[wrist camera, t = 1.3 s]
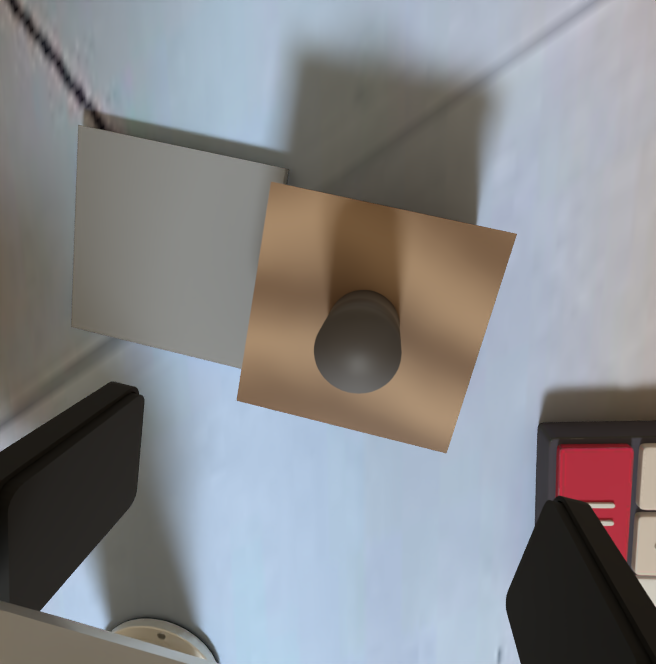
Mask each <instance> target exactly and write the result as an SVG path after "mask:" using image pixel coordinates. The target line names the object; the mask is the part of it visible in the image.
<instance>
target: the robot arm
mask: <svg viewBox="0 0 656 664" xmlns="http://www.w3.org/2000/svg"><path fill="white" fill-rule="evenodd" d="M143 412H144V397H143V396H142V395H139V391H138V389H137V388H136V387H133V386H129V385H125V384H121V383H117V382H110V383H108V384H106V385H105V386H103V387H102V388H100V389H98V390H97V391H95V392H94V393H92V394H91V395H89V396H87V397H86V398H84V399H83V400H81V401H80V402H78V403H76V404H75V405H73V406H72V407H70V408H69V409H67V410H65V411H64V412H62V413H61V414H59V415H58V416H56V417H54V418H53V419H51V420H50V421H48V422H47V423H45V424H43V425H42V426H40V427H39V428H37V429H36V430H34V431H32V432H31V433H29V434H28V435H26V436H25V437H23V438H21V439H20V440H18V441H17V442H15V443H14V444H12V445H10V446H9V447H7V448H6V449H4V450H2V451H1V452H0V664H219V663H217V662H216V661H215V659H214V657H213V655H212V653H211V652H210V651H209V649H208V648H207V647H206V646H205V644H204V643H203V642H201V641H200V640H199V639H198V638H197V637H196V636H195V635H193V634H192V633H190V632H189V631H187V630H186V629H184V628H182V627H180V626H178V625H176V624H173V623H170V622H167V621H163V620H157V619H135V620H130V621H127V622H124V623H122V624H120V625H119V626H117V627H116V628H114V629H113V630H112V631H111V632H110V631H106V630H103V629H99V628H96V627H93V626H89V625H86V624H82V623H79V622H76V621H72V620H69V619H65V618H62V617H58V616H55V615H51V614H47V613H44V612H40V610H41V609H42V608H43V607H44V606H45V605H46V603H47V602H48V601H49V600H50V599H51V598H52V596H53V595H54V594H55V593H56V592H57V591H58V590H59V588H60V587H61V586H62V585H63V584H64V583H65V581H66V580H67V579H68V578H69V577H70V576H71V574H72V573H73V572H74V571H75V570H76V569H77V568H78V566H79V565H80V564H81V563H82V562H83V561H84V559H85V558H86V557H87V556H88V555H89V554H90V553H91V551H92V550H93V549H94V548H95V547H96V546H97V544H98V543H99V542H100V541H101V540H102V539H103V537H104V536H105V535H106V534H107V533H108V532H109V531H110V529H111V528H112V527H113V526H114V525H115V524H116V522H117V521H118V520H119V519H120V518H121V517H122V515H123V514H124V513H125V512H126V511H127V510H128V509H129V507H130V506H131V504H132V503H133V501H134V498H135V496H136V492H137V482H138V470H139V459H140V447H141V436H142V424H143ZM506 611H507V615H508V619H509V622H510V626H511V629H512V633H513V637H514V640H515V644H516V648H517V651H518V655H519V659H520V662H521V664H656V607H655V605H654V603H653V602H652V600H651V599H650V597H649V596H648V594H647V593H646V591H645V590H644V588H643V586H642V585H641V583H640V582H639V580H638V579H637V577H636V576H635V574H634V573H633V571H632V569H631V568H630V566H629V565H628V563H627V562H626V560H625V559H624V557H623V556H622V554H621V552H620V551H619V549H618V548H617V546H616V545H615V543H614V542H613V540H612V538H611V537H610V535H609V534H608V532H607V531H606V529H605V528H604V526H603V525H602V523H601V521H600V520H599V518H598V517H597V515H596V514H595V512H594V511H593V509H592V508H591V506H590V505H589V504H588V503H586V502H583V501H579V500H575V499H571V498H568V497H564V496H557V497H556V498H555V499H554V500H553V501H552V500H547V501H546V502H545V504H544V506H543V508H542V511H541V513H540V516H539V518H538V520H537V523H536V525H535V528H534V530H533V532H532V535H531V537H530V539H529V542H528V544H527V547H526V549H525V551H524V554H523V556H522V559H521V561H520V563H519V566H518V568H517V571H516V573H515V575H514V578H513V580H512V583H511V585H510V587H509V590H508V592H507V596H506Z"/></svg>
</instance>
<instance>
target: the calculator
mask: <svg viewBox="0 0 656 664" xmlns="http://www.w3.org/2000/svg"><path fill="white" fill-rule="evenodd" d="M557 496H564V497H568V498H571V499H575V500H579V501H583V502H586V503H588V504H589V505H590V506H591V508H592V509H593V511H594V512H595V514H596V515H597V517H598V518H599V520H600V521H601V523H602V525H603V526H604V528H605V529H606V531H607V532H608V534H609V535H610V537H611V538H612V540H613V542H614V543H615V545H616V546H617V548H618V549H619V551H620V552H621V554H622V556H623V557H624V559H625V560H626V562H627V563H628V565H629V566H630V568H631V569H632V571H633V573H634V574H635V576H636V577H637V579H638V580H639V582H640V583H641V585H642V586H643V588H644V590H645V591H646V593H647V594H648V596H649V597H650V599H651V600H652V602H653V603H654V605H655V607H656V421H605V422H551V423H541V424H540V425H539V426H538V433H537V463H536V510H535V525H536V523H537V520H538V518H539V516H540V513H541V511H542V508H543V506H544V504H545V502H546V501H547V500H552V501H553V500H554V499H555V498H556V497H557Z"/></svg>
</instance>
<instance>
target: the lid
mask: <svg viewBox="0 0 656 664" xmlns="http://www.w3.org/2000/svg"><path fill="white" fill-rule="evenodd" d="M516 235H517V234H515V233H510V232H506V231H501V230H496V229H491V228H487V227H482V226H477V225H473V224H468V223H463V222H459V221H454V220H449V219H445V218H440V217H435V216H430V215H426V214H421V213H416V212H412V211H407V210H402V209H398V208H393V207H388V206H384V205H379V204H374V203H369V202H365V201H360V200H355V199H351V198H346V197H341V196H337V195H332V194H327V193H322V192H318V191H313V190H308V189H304V188H299V187H294V186H290V185H285V184H280V183H276V182H271V185H270V191H269V198H268V204H267V210H266V217H265V223H264V229H263V236H262V242H261V249H260V255H259V261H258V268H257V274H256V280H255V287H254V293H253V299H252V306H251V312H250V319H249V325H248V331H247V338H246V344H245V350H244V357H243V363H242V369H241V376H240V382H239V389H238V395H237V401H240V402H244V403H248V404H252V405H256V406H260V407H264V408H268V409H272V410H276V411H280V412H284V413H288V414H292V415H296V416H300V417H304V418H308V419H312V420H316V421H320V422H324V423H328V424H332V425H336V426H340V427H344V428H348V429H352V430H356V431H360V432H364V433H368V434H372V435H376V436H380V437H384V438H388V439H392V440H396V441H400V442H404V443H407V444H411V445H415V446H419V447H423V448H427V449H431V450H435V451H439V452H443V453H447V450H448V447H449V444H450V441H451V437H452V434H453V431H454V428H455V425H456V422H457V419H458V416H459V413H460V409H461V406H462V403H463V400H464V397H465V394H466V391H467V388H468V385H469V381H470V378H471V375H472V372H473V369H474V366H475V363H476V360H477V357H478V353H479V350H480V347H481V344H482V341H483V338H484V335H485V332H486V329H487V325H488V322H489V319H490V316H491V313H492V310H493V307H494V304H495V301H496V297H497V294H498V291H499V288H500V285H501V282H502V279H503V276H504V273H505V269H506V266H507V263H508V260H509V257H510V254H511V251H512V248H513V245H514V241H515V238H516Z"/></svg>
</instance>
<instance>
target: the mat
mask: <svg viewBox="0 0 656 664" xmlns="http://www.w3.org/2000/svg"><path fill="white" fill-rule="evenodd" d="M288 172H289V169H286V168H281V167H276V166H272V165H267V164H262V163H257V162H252V161H248V160H243V159H238V158H233V157H229V156H224V155H219V154H214V153H210V152H205V151H200V150H195V149H191V148H186V147H181V146H176V145H172V144H167V143H162V142H157V141H153V140H148V139H143V138H138V137H134V136H129V135H124V134H119V133H115V132H110V131H105V130H100V129H96V128H91V127H86V126H81V125H78V149H77V177H76V205H75V233H74V262H73V290H72V318H71V327H73V328H78V329H82V330H86V331H90V332H94V333H98V334H102V335H106V336H110V337H114V338H118V339H122V340H126V341H130V342H135V343H139V344H143V345H147V346H151V347H155V348H159V349H163V350H167V351H171V352H175V353H179V354H183V355H187V356H191V357H196V358H200V359H204V360H208V361H212V362H216V363H220V364H224V365H228V366H232V367H236V368H240V369H242V363H243V357H244V350H245V344H246V338H247V331H248V325H249V319H250V312H251V306H252V299H253V293H254V287H255V280H256V274H257V268H258V261H259V255H260V249H261V242H262V236H263V229H264V223H265V217H266V210H267V204H268V198H269V191H270V185H271V182H276V183H280V184H285V185H286V184H287V178H288Z"/></svg>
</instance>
